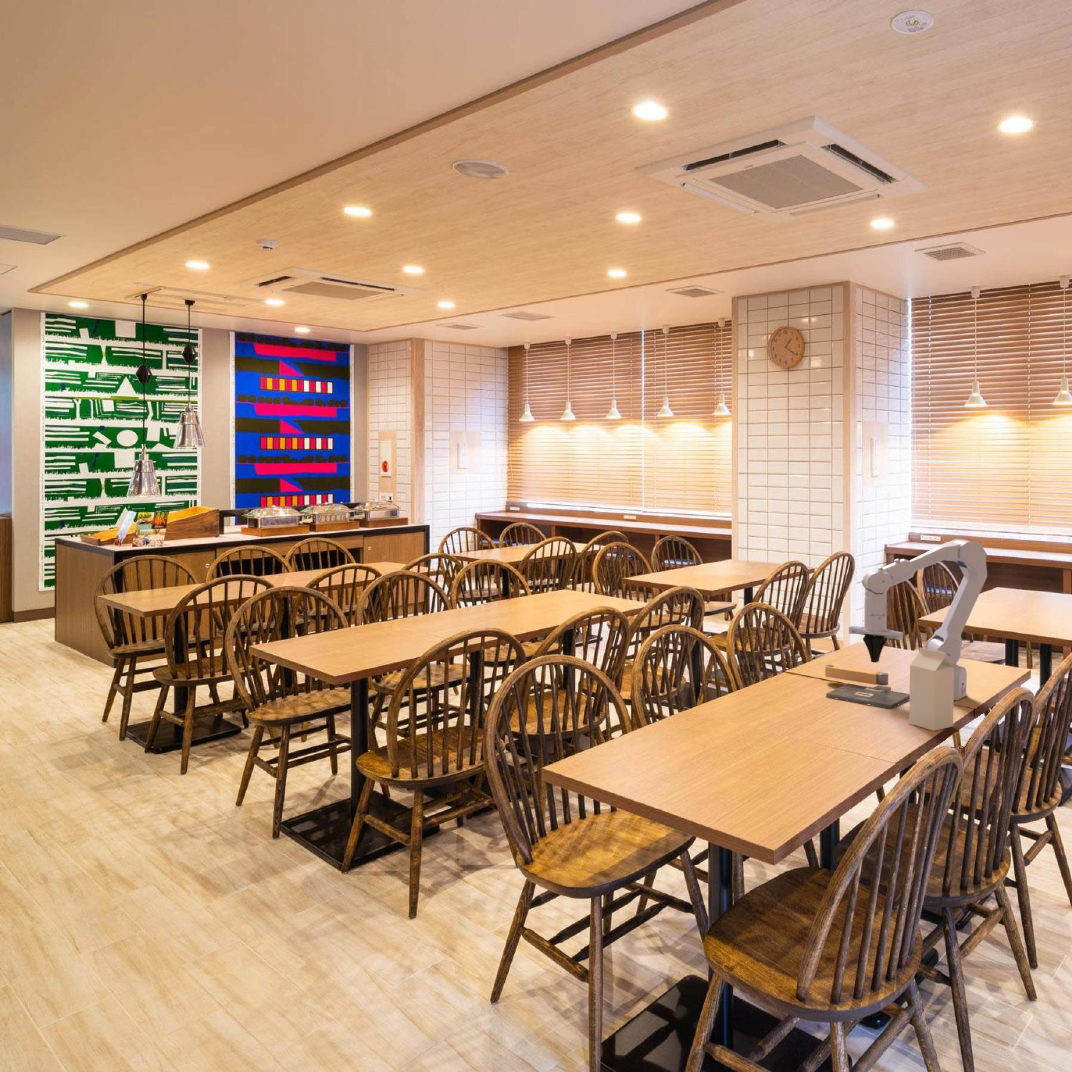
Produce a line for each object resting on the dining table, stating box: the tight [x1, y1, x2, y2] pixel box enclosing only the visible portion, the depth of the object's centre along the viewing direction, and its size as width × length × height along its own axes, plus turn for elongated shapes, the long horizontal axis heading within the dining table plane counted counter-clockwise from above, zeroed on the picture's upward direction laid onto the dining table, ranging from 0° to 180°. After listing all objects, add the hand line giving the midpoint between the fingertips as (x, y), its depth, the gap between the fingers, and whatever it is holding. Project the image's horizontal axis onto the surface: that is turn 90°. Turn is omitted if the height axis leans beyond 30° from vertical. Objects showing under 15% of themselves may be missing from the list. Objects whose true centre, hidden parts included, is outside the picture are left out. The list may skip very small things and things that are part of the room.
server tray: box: [825, 683, 910, 710], centre depth 232 cm, size 18×18×2 cm
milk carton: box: [908, 647, 955, 732], centre depth 204 cm, size 7×7×19 cm
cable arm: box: [824, 663, 889, 686], centre depth 242 cm, size 18×4×3 cm, turn 46°
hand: (875, 661), depth 233 cm, fingers closed
